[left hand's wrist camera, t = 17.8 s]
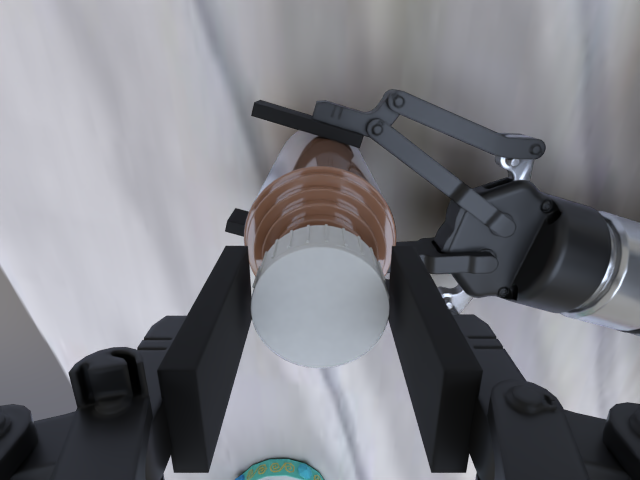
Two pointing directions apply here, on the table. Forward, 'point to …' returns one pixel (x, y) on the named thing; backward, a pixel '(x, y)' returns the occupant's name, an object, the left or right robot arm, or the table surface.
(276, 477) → the decorative hourglass
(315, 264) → the cap
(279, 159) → the bottle
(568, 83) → the table surface
